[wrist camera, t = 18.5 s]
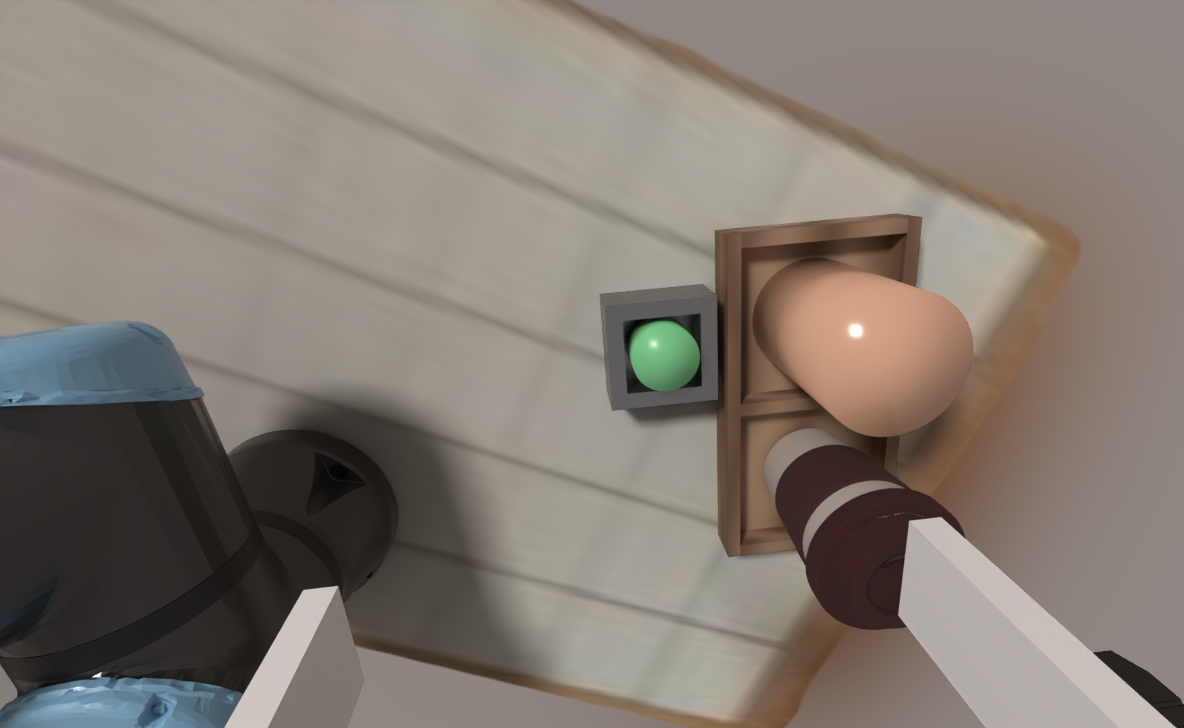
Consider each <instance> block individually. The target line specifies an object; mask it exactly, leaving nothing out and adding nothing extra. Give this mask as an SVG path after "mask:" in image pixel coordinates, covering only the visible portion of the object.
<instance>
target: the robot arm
mask: <svg viewBox="0 0 1184 728" xmlns="http://www.w3.org/2000/svg"><path fill="white" fill-rule="evenodd" d="M202 397H204V393H203V391H202V390H201V389H200V388H199V387H196V386H195V384H194V383H193V381H192V379H191V377H190V375H189V374H188V372H187V370H186V368H185V366H184V364H183V362H182V360H181V358H180V356H179V354H178V352H177V351H176V349H175V347H174V345H173V343H172V342H171V340H170V339H169V338H168V337H167V335H165V334H164V333H163V332H162V331H160V330H159V329H157V328H155V327H153V326H151V325H149V324H145V323H142V322H137V321H112V322H102V323H93V324H85V325H77V326H69V327H62V328H55V329H48V330H41V331H34V332H28V333H21V334H15V335H8V336H1V337H0V665H1V666H2V668H3V669H4V670H5V672H6V674H7V675H8V677H9V678H10V680H11V681H12V682H13V684H14V686H15V687H16V689H17V698H15V699H14V700H13V701H12V702H9V703H7V704H6V705H5V706H4V707H3V708H2V709H1V710H0V728H347V727H348V724H349V721H350V718H351V716H352V712H353V710H354V707H355V704H356V702H357V699H358V696H359V693H360V690H361V687H362V685H363V682H364V677H363V674H362V670H361V667H360V663H359V660H358V656H357V652H356V649H355V645H354V641H353V638H352V634H351V630H350V627H349V623H348V620H347V616H346V612H345V609H344V605H343V603H344V602H345V601H346V600H347V599H348V598H349V597H350V596H351V594H352V593H353V592H354V591H356V590H357V589H359V588H360V587H362V586H363V585H364V584H365V583H366V582H367V581H368V580H369V579H370V578H371V577H372V576H373V575H374V574H375V573H376V572H377V571H378V569H379V568H380V566H381V565H382V563H383V562H384V560H385V558H386V556H387V554H388V551H389V549H390V547H391V544H392V542H393V539H394V536H395V533H396V529H397V521H398V512H397V504H396V500H395V496H394V493H393V491H392V488H391V486H390V484H389V482H388V481H387V479H386V477H385V476H384V474H383V473H382V472H381V470H380V469H379V468H378V467H377V466H376V465H375V463H374V462H372V461H371V460H370V459H369V458H368V457H367V456H366V455H365V454H363V453H362V452H361V451H359V450H358V449H356V448H355V447H353V446H351V445H349V444H348V443H346V442H344V441H342V440H339V439H337V438H334V437H332V436H329V435H325V434H322V433H317V432H312V431H305V430H281V431H274V432H269V433H265V434H262V435H259V436H256V437H253V438H251V439H249V440H247V441H245V442H243V443H242V444H240V445H239V446H237V447H236V448H235V449H233V450H232V451H231V452H230V453H229V454H228V455H227V454H226V452H225V449H224V447H223V445H222V443H221V440H220V438H219V436H218V433H217V431H216V429H215V427H214V424H213V422H212V420H211V417H210V415H209V413H208V411H207V408H206V406H205V404H204V402H203V399H202ZM898 616H899V617H900V618H901V620H902V621H903V622H904V623H905V625H906V626H907V627H908V629H909V630H910V631H911V632H912V634H913V635H914V636H915V638H916V639H917V640H918V641H919V643H920V644H921V645H922V647H923V648H924V649H925V650H926V652H927V653H928V654H929V656H930V657H931V658H932V659H933V661H934V662H935V663H936V664H937V666H938V667H939V668H940V670H941V671H942V672H943V673H944V675H945V676H946V678H947V679H948V680H949V681H950V683H951V684H952V685H953V687H954V688H955V689H956V690H957V692H958V693H959V694H960V696H961V697H962V698H963V699H964V701H965V702H966V703H967V704H968V706H969V707H970V708H971V710H972V711H973V712H974V714H975V715H976V716H977V717H978V719H979V720H980V721H981V722H982V724H983V725H984V726H985V727H986V728H1184V704H1182V702H1181V699H1180V698H1179V697H1178V696H1176V695H1175V694H1174V693H1173V692H1172V691H1170V690H1169V689H1168V688H1167V687H1166V686H1165V685H1163V684H1162V683H1161V682H1160V681H1159V680H1157V679H1156V678H1155V677H1154V676H1153V675H1152V674H1150V673H1149V672H1148V671H1146V670H1144V669H1142V668H1141V667H1139V666H1137V665H1135V664H1134V663H1132V662H1130V661H1128V660H1127V659H1125V658H1123V657H1121V656H1120V655H1118V654H1116V653H1114V652H1113V651H1102V652H1094V653H1092V652H1091V651H1090V650H1089V649H1087V647H1085V646H1084V645H1083V644H1082V643H1081V642H1080V641H1079V640H1078V639H1076V638H1075V637H1074V636H1073V635H1072V634H1071V633H1070V632H1069V631H1067V630H1066V629H1065V628H1064V627H1063V626H1062V625H1061V624H1060V623H1059V622H1058V621H1056V620H1055V619H1054V618H1053V617H1052V616H1051V615H1050V614H1049V613H1047V612H1046V611H1045V610H1044V609H1043V608H1042V607H1041V606H1040V605H1039V604H1037V603H1036V602H1035V601H1034V600H1033V599H1032V598H1031V597H1030V596H1029V595H1027V594H1026V593H1025V592H1024V591H1023V590H1022V589H1021V588H1020V587H1019V586H1017V585H1016V584H1015V583H1014V582H1013V581H1012V580H1011V579H1009V578H1008V577H1007V576H1006V575H1005V574H1004V573H1003V572H1002V571H1001V570H1000V569H998V568H997V567H996V566H995V565H994V564H993V563H992V562H991V561H990V560H988V559H987V558H986V557H985V556H984V555H983V554H982V553H981V552H979V551H978V550H977V549H976V548H975V547H974V546H973V545H972V544H971V543H969V542H968V541H967V540H966V539H965V538H964V537H963V536H962V535H961V534H959V533H958V532H957V531H956V530H955V529H954V528H953V527H952V526H950V525H949V524H948V523H947V522H946V521H945V520H944V519H943V518H942V517H938V518H930V519H921V520H912V521H909V528H908V536H907V545H906V553H905V562H904V570H903V579H902V587H901V596H900V604H899V613H898Z"/></svg>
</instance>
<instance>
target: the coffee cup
mask: <svg viewBox="0 0 1184 728" xmlns="http://www.w3.org/2000/svg"><path fill="white" fill-rule="evenodd" d="M763 474H764V480H765V484H766V486H767V489H768V490H769V492H770V494H771V496H772V498H773V500H774V502H775V504H776V509H777V512H778V515H779V517H780V519H781V521H782V523H783V524H784V526H785V528H786V530H787V532H788V534H789V536H790V538H791V540H792V542H793V544H794V546H795V547H796V549H797V551H798V553H799V555H800V557H801V559H802V561H803V562H804V564H805V566H806V575H807V579H808V582H809V585H810V587H811V589H812V591H813V593H814V594H815V596H816V598H817V599H818V601H819V602H820V604H821V605H822V607H823V608H824V609H825V611H826V612H828V613H829V614H830V615H831V616H832V617H833V618H835V619H836V620H838V621H840V622H842V623H844V624H846V625H849V626H852V627H856V628H860V629H869V630H871V629H872V630H878V629H888V628H890V629H891V628H903V627H907V626H906V625H905V623H904V622H903V621H902V620H901V618H900V617H899V616H898V613H899V604H900V596H901V587H902V579H903V570H904V562H905V553H906V545H907V536H908V528H909V521H912V520H921V519H930V518H938V517H942V518H943V519H944V520H945V521H946V522H947V523H948V524H949V525H950V526H952V527H953V528H954V529H955V530H956V531H957V532H958V533H959V534H961V535H962V536H963V537H964V538H965V535H964V532H963V530H962V528H961V526H960V524H959V522H958V521H957V520H956V518H955V517H954V516H953V515H952V514H951V513H949V511H947V510H946V509H945V508H944V507H943V506H942V505H940V504H939V503H938V502H937V501H936V500H934V499H933V498H931V497H930V496H928V495H925V494H923V493H921V492H918V491H914V490H911V489H910V488H909V487H908V486H907V485H905V484H904V483H903V482H901V481H900V480H899V479H897V478H896V477H895V476H893V475H892V474H891V473H889V472H888V471H887V470H885V469H884V468H883V467H881V466H880V465H879V464H877V463H876V462H875V461H873V460H872V459H871V458H869V457H868V456H867V455H865V454H864V453H862V452H861V451H859V450H857V449H855V448H852V447H850V446H849V445H847V444H846V443H845V442H844V441H842V440H841V439H840V438H838V437H837V436H836V435H834V434H832V433H830V432H828V431H826V430H822V429H817V428H806V429H800V430H797V431H794V432H792V433H790V434H788V435H786V436H784V437H783V438H782V439H780V440H779V441H778V442H777V443H776V444H775V445H774V446H773V447H772V449H771V450H770V452H769V453H768V455H767V458H766V460H765V463H764V473H763ZM965 539H966V538H965Z"/></svg>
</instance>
